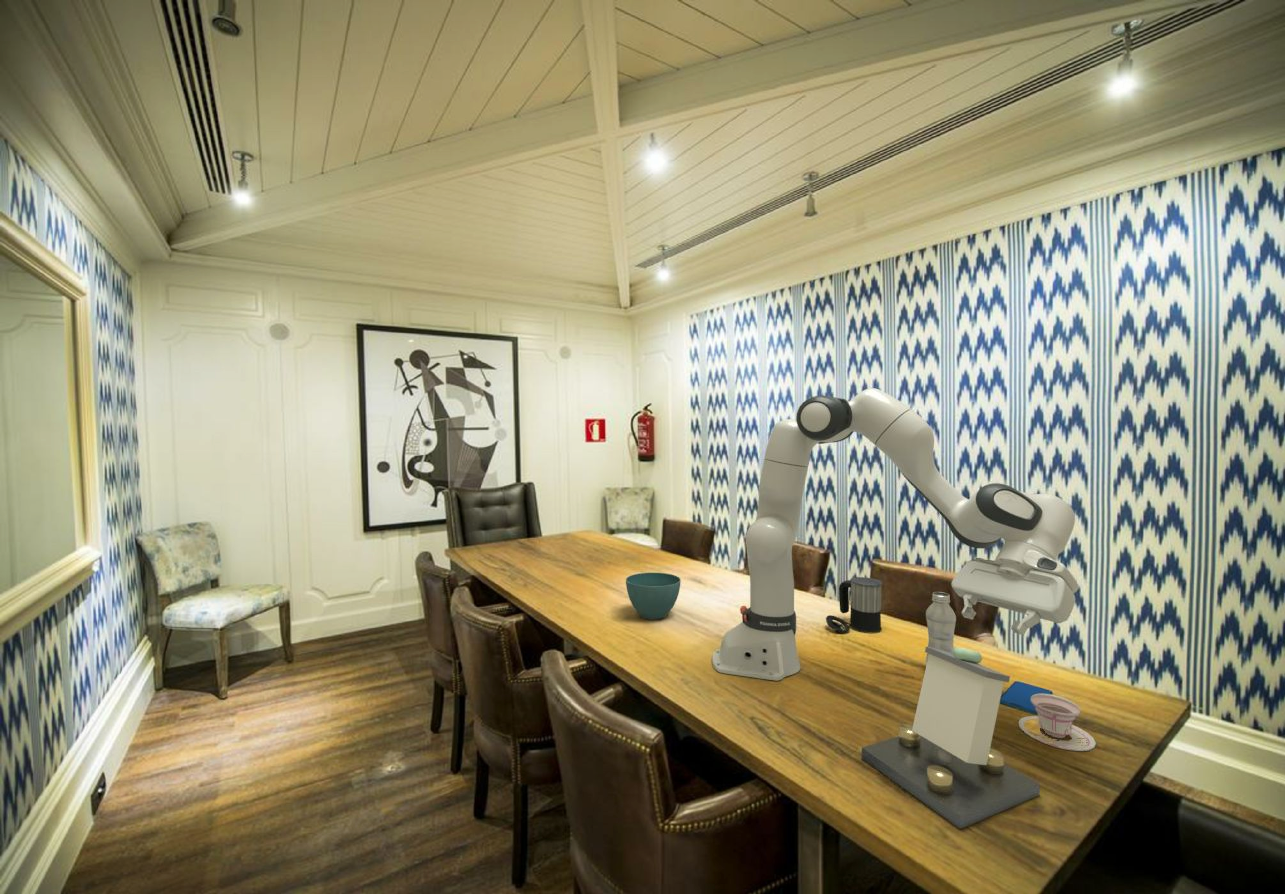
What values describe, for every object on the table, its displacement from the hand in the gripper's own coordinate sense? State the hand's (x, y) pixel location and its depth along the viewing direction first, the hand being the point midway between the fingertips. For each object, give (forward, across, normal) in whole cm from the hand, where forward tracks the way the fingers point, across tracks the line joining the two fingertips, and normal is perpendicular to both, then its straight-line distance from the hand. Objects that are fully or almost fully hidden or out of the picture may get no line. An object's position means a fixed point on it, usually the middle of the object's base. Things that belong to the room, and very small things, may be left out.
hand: (990, 624), depth 99 cm
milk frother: (0, -58, +33) cm, 67 cm away
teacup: (+6, +2, +28) cm, 29 cm away
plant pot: (+35, -94, -4) cm, 100 cm away
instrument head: (+26, +2, +3) cm, 26 cm away
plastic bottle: (+3, -26, +30) cm, 40 cm away
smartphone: (-1, -10, +36) cm, 37 cm away
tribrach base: (+28, +2, +5) cm, 28 cm away
